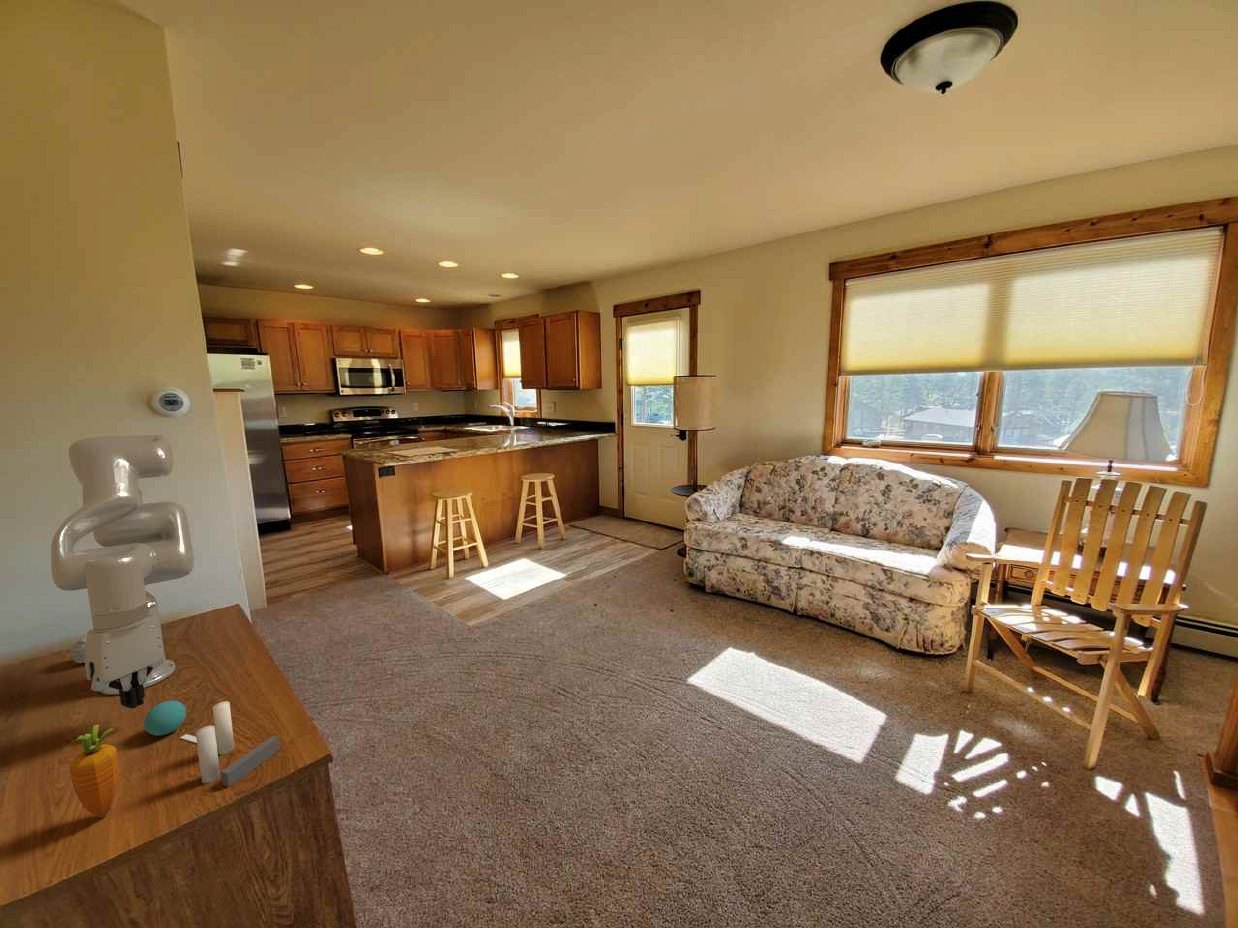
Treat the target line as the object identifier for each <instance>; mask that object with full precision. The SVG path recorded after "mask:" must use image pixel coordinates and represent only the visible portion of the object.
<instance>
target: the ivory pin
mask: <svg viewBox="0 0 1238 928" xmlns="http://www.w3.org/2000/svg"><path fill="white" fill-rule="evenodd" d="M231 712H232V711H231V704H230V701H227V700H226V701H221V702H218V703H216V704H214V705H213V706H212V714H213V715H212V716H213V722H214V725H213V726H214V728H215V737H216V743H217V753H218V755H223V756H224V755H226V754H229V753H231V752H233V750H234V749H235V739H234V732H233V723H232V715H231Z"/></svg>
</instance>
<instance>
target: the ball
mask: <svg viewBox="0 0 1238 928" xmlns="http://www.w3.org/2000/svg"><path fill="white" fill-rule="evenodd" d="M186 717H187V709H186V706H185V704H183V703H182V702H180V701H177V700H167V701H163V702H160V703H158V704H156V705H154V706H153V707H152V708H151V709H150V710H149V711H148V712H147V714H146V715H145V718H144V721H143V728H144V729H145V731H146V732H147V733H149V734H150V735H152V736H165V735H168V734H170V733H172V732H174V731H176V730H177V729H178V728H180V727H181V725H182V724H183V723H184V721H185V719H186Z"/></svg>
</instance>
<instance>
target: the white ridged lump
mask: <svg viewBox="0 0 1238 928" xmlns="http://www.w3.org/2000/svg"><path fill="white" fill-rule="evenodd" d="M86 637H87V635H85V636H82V637H80V639H78V640H76V641H75V642H74V643H73V644H72V645H71V646H70V647H69V651H68V655H69V657H70V658H71V659H72V660H73V661H74V662H75V663H76V664H81V663H85V644H86Z"/></svg>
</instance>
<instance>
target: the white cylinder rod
mask: <svg viewBox="0 0 1238 928" xmlns="http://www.w3.org/2000/svg"><path fill="white" fill-rule="evenodd" d="M195 737H196V739H197V743H196V745H197V746H196V747H197V754H198V760H199V761H198V762H199V770H200V776H201V777H200V778H201V783H202V784H210V783H213V782H214V781H216V780H217V779H219V778H220V776H221V771H220V763H219V754H218V749H217V745H216V743H217V741H216V733H215V725H207V726H203V727H201V728H199V729H198V730H197V731H196V732H195Z"/></svg>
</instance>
